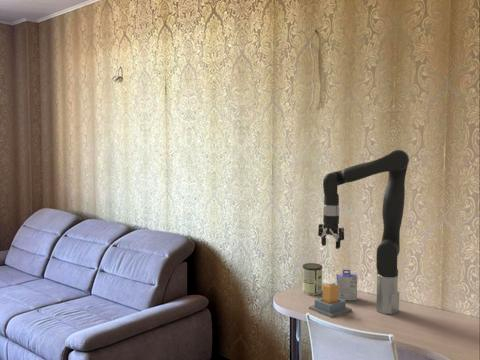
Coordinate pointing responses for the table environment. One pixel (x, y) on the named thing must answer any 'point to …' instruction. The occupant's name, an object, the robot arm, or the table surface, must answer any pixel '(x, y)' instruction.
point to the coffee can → (312, 278)
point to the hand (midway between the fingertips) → (330, 247)
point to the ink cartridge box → (347, 286)
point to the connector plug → (330, 292)
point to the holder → (330, 307)
